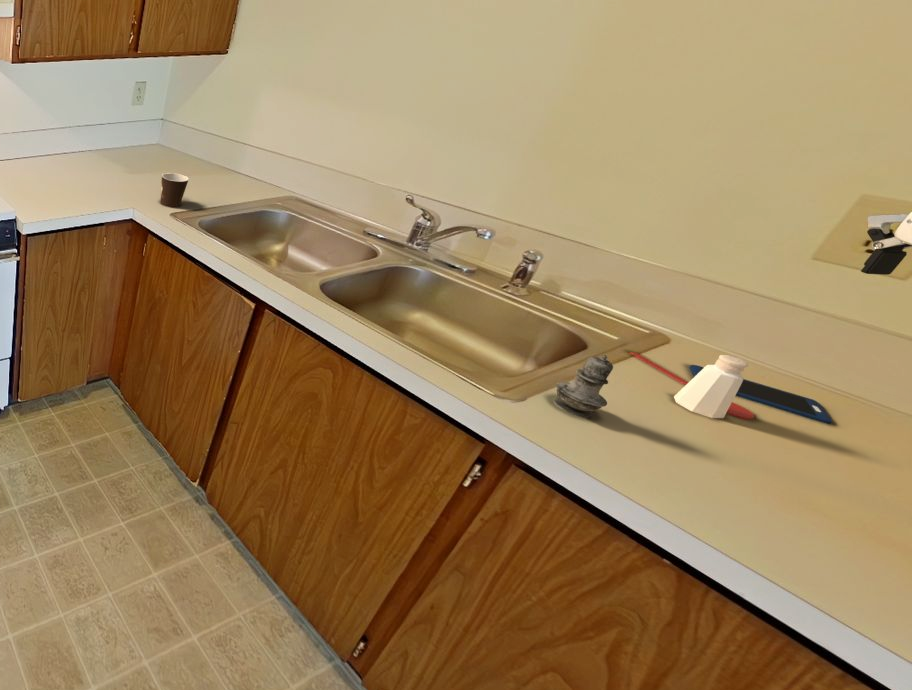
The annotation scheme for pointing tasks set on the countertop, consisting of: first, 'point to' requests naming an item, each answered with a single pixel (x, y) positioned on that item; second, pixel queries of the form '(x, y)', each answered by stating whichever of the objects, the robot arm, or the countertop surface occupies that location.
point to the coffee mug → (173, 189)
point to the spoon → (733, 409)
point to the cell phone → (778, 399)
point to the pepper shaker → (713, 387)
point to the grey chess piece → (585, 388)
